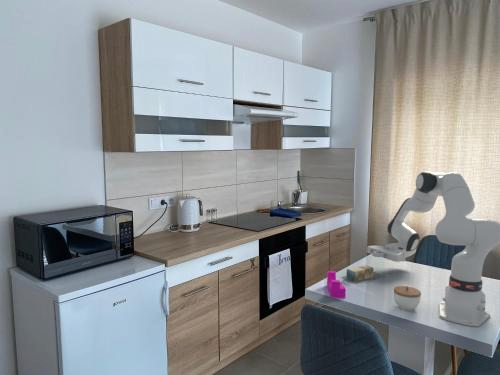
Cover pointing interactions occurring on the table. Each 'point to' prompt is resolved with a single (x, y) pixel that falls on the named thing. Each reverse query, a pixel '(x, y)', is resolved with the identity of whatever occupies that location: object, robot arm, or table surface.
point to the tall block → (359, 273)
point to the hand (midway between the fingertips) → (374, 255)
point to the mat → (375, 276)
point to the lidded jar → (407, 297)
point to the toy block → (335, 285)
